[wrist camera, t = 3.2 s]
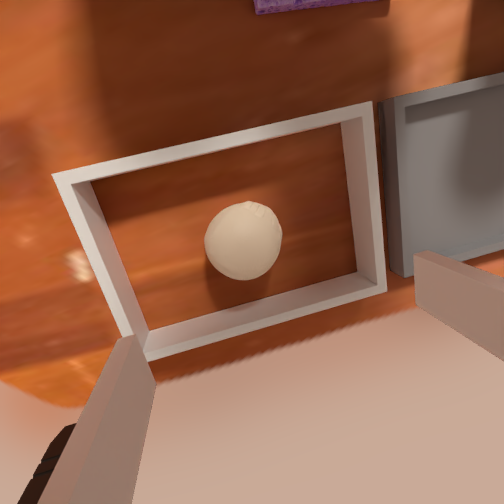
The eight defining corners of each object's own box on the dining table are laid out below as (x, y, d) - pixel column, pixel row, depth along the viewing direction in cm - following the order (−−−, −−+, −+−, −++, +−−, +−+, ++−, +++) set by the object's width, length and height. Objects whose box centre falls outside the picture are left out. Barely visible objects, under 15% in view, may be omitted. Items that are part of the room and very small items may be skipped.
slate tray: (390, 270, 34) (404, 278, 31) (377, 102, 28) (393, 97, 26) (525, 231, 35) (548, 236, 33) (539, 65, 30) (568, 57, 27)
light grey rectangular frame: (143, 341, 31) (134, 365, 27) (73, 172, 25) (51, 174, 22) (366, 277, 33) (387, 291, 30) (348, 109, 28) (372, 100, 24)
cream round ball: (287, 224, 30) (309, 239, 24) (242, 277, 31) (253, 305, 25) (236, 182, 28) (247, 186, 22) (191, 239, 29) (188, 260, 22)
